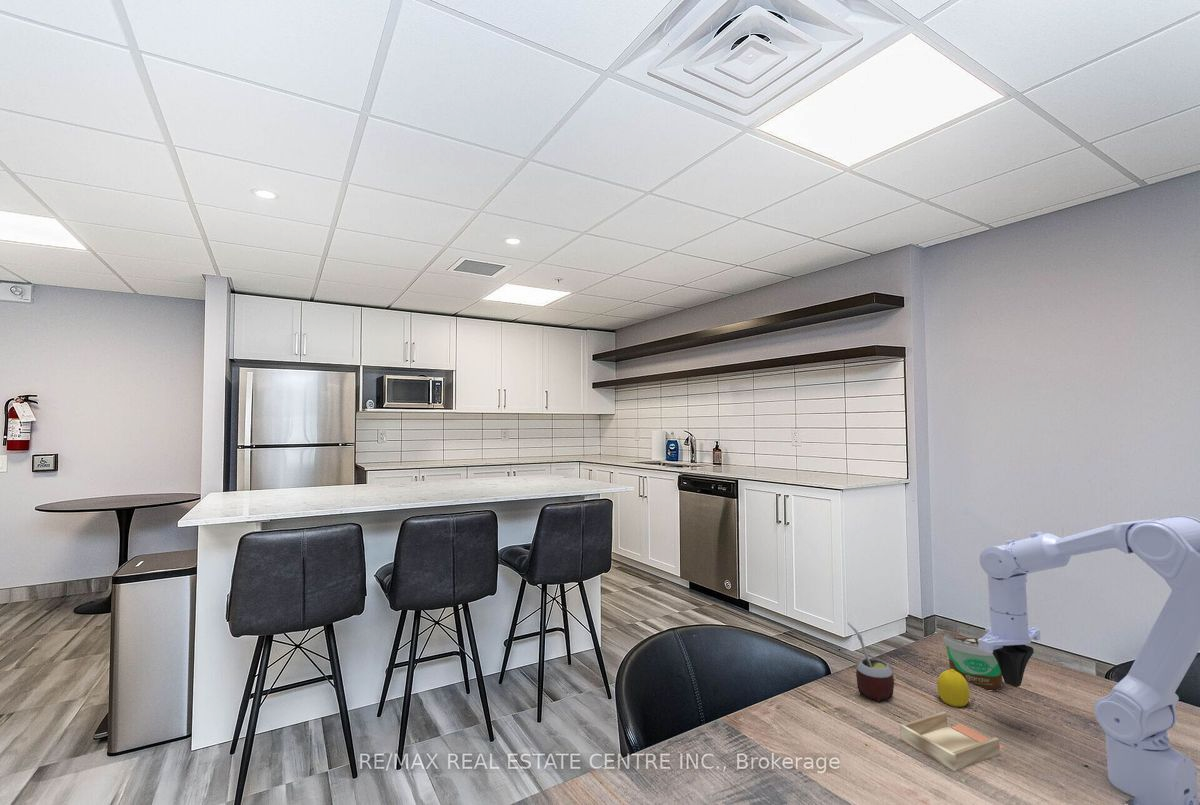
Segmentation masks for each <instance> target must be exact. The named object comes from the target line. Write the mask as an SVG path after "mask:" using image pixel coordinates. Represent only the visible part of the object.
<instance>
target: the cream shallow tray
mask: <svg viewBox="0 0 1200 805" xmlns="http://www.w3.org/2000/svg"><path fill="white" fill-rule="evenodd" d="M899 735H900V736H899V737H900V741H902V742H904V743H906V744H907V745H909V746H911V747H913V748H914V749H916V750H918V751H919V752H921V753H923V754H924V755H926V756H927V757H929V758H931V759H932V760H934V761H935V762H938V763H940V765H943V766H945V767H946V768H947V769H949V770H951V771H953V772H956V771H959V770H961V769H964V768H967V767H969V766H973V765H975V764H978V763H980V762H983V761H985V760H988V759H991V758H993V757H996V756H998V755H1000V754H1001V751H1000V750H1001V748H1000V745H999V744H1000V738H998V737H996V736H994V737H992V738H990V739H989V740H986V741H983V742H978V741H976V740H974V739H972V738H970V737H968V736H966V735H964V734H963V733H961V732H959V731H957V730H955V729H953V728H951V726H948V714H947V712H946V711H944V710H943V711H940V712H937V713H933V714H931V715H927V716H924V717H921V718H917V719H914V720H912V721H909V722H905V723H902V724H899Z"/></svg>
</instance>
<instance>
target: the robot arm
mask: <svg viewBox="0 0 1200 805" xmlns="http://www.w3.org/2000/svg"><path fill="white" fill-rule="evenodd" d="M1029 535H1030V537H1028V538H1024V539H1020V540H1015V539H1009V540H1006V541H1005V544H1002V545H990V546H988V547H987V548H984V549H983V550H982V551H981V553H980V555H979V564H980V567H981V568H982V570H983V571H984V573H986V574H987V586H988V603H989V604H988V605H989V606H988V607H989V618H990V619H989V620H990V621H989V622H990V626H987V627H985V629H984V631H985V632H986V633H985V635H984V636H982V637H981V638H977V639H978V642H979V650H982V651H985V652H987V653H993V655H994V657H995V658H996V660H997V662H998V665H999V667H1000V670H1001V673H1002V680H1003V682H1004V683H1005V684H1007V685H1010V686H1012V687H1014V688H1019V687H1021V685H1022V682H1023V678H1024V675H1025V671H1026V667H1027V665H1028V662H1029V660H1030V659H1031V657H1032V656H1033V654H1034V653H1035V650H1034V648H1033V647H1032V646H1029V644H1030V643H1032V641H1033V640H1034V641H1041V629H1039V628H1036V627H1032V626H1030V625H1029V618H1028V617H1029V616H1028V602H1027V600H1028V598H1027V584H1026V583H1027V582H1028V581H1027V580H1028V579H1027V578H1028V577H1027V575H1028V574H1032V573H1038V572H1042V571H1048V570H1053V569H1057V568H1062V567H1065V566H1067V565H1068V564H1069V563H1070V560H1071V557H1072V556H1077V555H1083V554H1088V553H1093V552H1094V553H1095V552H1098V551H1105V550H1108V549H1109V550H1110V549H1117V550H1119V551H1121V552H1123V553H1124V554H1128V555H1131V554H1135V555H1136V556H1137V557H1138V558H1139V559H1140V560H1141V561H1143V562H1144V563H1145V564H1146V565H1147V566H1149V567H1150V568H1151V569H1152V570H1153V571H1154V572H1156V574H1158V576H1160V577H1161V578H1162V579H1163V580H1164V581H1165V582H1166V584H1167V585H1168V587H1169V588H1170V590H1171V592H1170V594H1169V596H1168V597H1167V600H1166V601H1165V603H1164V605H1163V608H1161V611H1160V612H1159V615H1158V617H1157V618H1156V620H1155V623H1154V624H1153V626H1152V627H1151V630H1150V631H1149V634H1148V635H1147V637H1146V639H1145V641H1144V643H1143V645H1142V647H1141V648H1140V651H1139V652H1138V654H1137V656H1136V657H1135V660H1134V661H1133V663H1132V665H1131V667H1130V669H1129V671H1128V673H1127V674H1126V675H1125V676H1124V677H1123V678H1122V679H1121V680H1119V682H1117V683H1116V685H1114V686H1113V687H1112V689H1111V691H1110V692H1109V693H1108V694H1107V695H1105V696H1102V697H1100V698H1098V699H1097V700H1096V701H1095V704H1094V706H1093V712H1094V713H1093V714H1094V717H1095V719H1096V721H1097V723H1098V724H1099V726H1100V727H1101V728H1102V729H1103V730H1104V733H1105V735H1104V736H1105V750H1106V751H1105V752H1106V764H1107V766H1106V768H1107V778H1108V780H1109V782H1110V783H1111V784H1112V785H1113V786H1114V787H1115V788H1117V789H1119V791H1122V792H1123V793H1126V794H1128V795H1130V796H1133V797H1132V798H1130V799H1128V800H1125V803H1127V804H1128V805H1199V790H1198V778H1197V769H1196V764H1195V763H1194V761H1193V760H1192V759H1191V758H1190V757H1188V756H1186V755H1185V754H1183V753H1181V752H1179V751H1178V750H1176V749H1175V748H1174V747H1172V746H1171V745H1170V739H1169V736H1168V734H1169V733H1168V731H1169V730H1171V729H1172V728H1174V727H1175V726H1176V724H1177V719H1178V716H1177V711H1176V706H1177V703H1178V701H1179V699H1180V698H1179V695H1178V694H1177V693H1176V691H1177V689H1178V688H1179V686H1180V684H1181V682H1182V681H1183V679H1184V677H1185V676H1186V674H1187V672H1188V671H1189V668H1190V666H1191V665H1192V663H1193V662H1194V660H1195V658H1196V656H1197V655H1198V653H1199V651H1200V519H1198V518H1196V517H1194V516H1189V515H1172V516H1170V517H1167V518H1149V519H1141V520H1132V521H1124V522H1117V523H1112V524H1111V523H1110V524H1107V525H1104V526H1101V527H1097V528H1094V529H1090V530H1085V531H1083V532H1079V533H1076V534H1072V535H1068V536H1064V537H1059V536H1057V535H1056V534H1053V533H1049V532H1048V533H1043V531H1037V532H1032V533H1030V534H1029Z"/></svg>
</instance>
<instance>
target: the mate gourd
mask: <svg viewBox="0 0 1200 805" xmlns="http://www.w3.org/2000/svg"><path fill="white" fill-rule="evenodd" d="M846 624H847V625H848V626H849V627H850V629H852V630H853V631H854V633H855V634H856V635H857V639H858V640H859V642H860V645H861V648H862V651H863V654H864V657H865V658H864V659H861V660H860V662H859V663H858V665H857V666H856V673H855V677H856V686H857V690H858V693H859V695H860V696H862V695H864V696H865V697H867V698H869V699H871V700H874V701H876V702H877V703H880V702H881V701H885V700H887V699H888V698H892V697H893V695H894V687H895V678H894V675H893V671H892V669H891V668H890V666H889V665H888V663H886V662H885V661H883V660H879V659H877V658H876V659H875V658H870V657H869V655H868V652H867V649H866V647H865V644H864V641H863V640H864V639H863V637H862V635H861V634H860V632H859V631H858V630H857V629H856V627H854V626H853V625H852V624H851V623H850V622H847V623H846Z"/></svg>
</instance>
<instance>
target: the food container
mask: <svg viewBox="0 0 1200 805" xmlns="http://www.w3.org/2000/svg"><path fill="white" fill-rule="evenodd" d="M978 639H979V638H976V637H965V638H964V637H963V638H962V637H961V638H958V637H957V638H955V637H951V636H949V635H948V634H947V633H944V635H943V638H942V643H943V645H945V646H946V651H947V657H948V663H949V670H950V669H954V670H955V671H956V672H958V673H960V674H961V675H962V676H963V677H964V678H965V679H966V681H967V683H968V684H972V685H974V686H976V687H978V688H981V689H982V690H986V691H988V690H997V689H999V688H1001V689H1002V687H1001V686H1002V684H1003V676H1002V673H1001V670H1000V667H999V665H998V662H997V660H996V658H995V657H994V655H993V653H987V652H985V651H982V650H979V642H978ZM999 690H1000V689H999ZM997 691H998V690H997Z"/></svg>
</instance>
